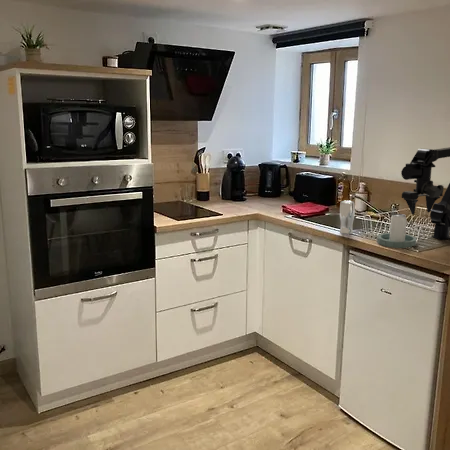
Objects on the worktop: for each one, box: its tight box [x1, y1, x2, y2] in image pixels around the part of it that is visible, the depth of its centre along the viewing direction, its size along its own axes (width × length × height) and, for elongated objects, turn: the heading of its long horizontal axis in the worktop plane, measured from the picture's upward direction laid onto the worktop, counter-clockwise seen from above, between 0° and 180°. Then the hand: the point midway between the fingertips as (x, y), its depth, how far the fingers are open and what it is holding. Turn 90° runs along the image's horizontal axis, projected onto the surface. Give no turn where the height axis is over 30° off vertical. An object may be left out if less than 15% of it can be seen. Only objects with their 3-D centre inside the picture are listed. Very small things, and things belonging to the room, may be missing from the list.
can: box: [389, 213, 407, 242], centre depth 221 cm, size 6×6×12 cm
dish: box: [377, 232, 418, 249], centre depth 222 cm, size 16×16×2 cm
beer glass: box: [339, 200, 356, 235], centre depth 240 cm, size 7×7×15 cm
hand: (420, 213), depth 221 cm, fingers open, 9 cm apart
